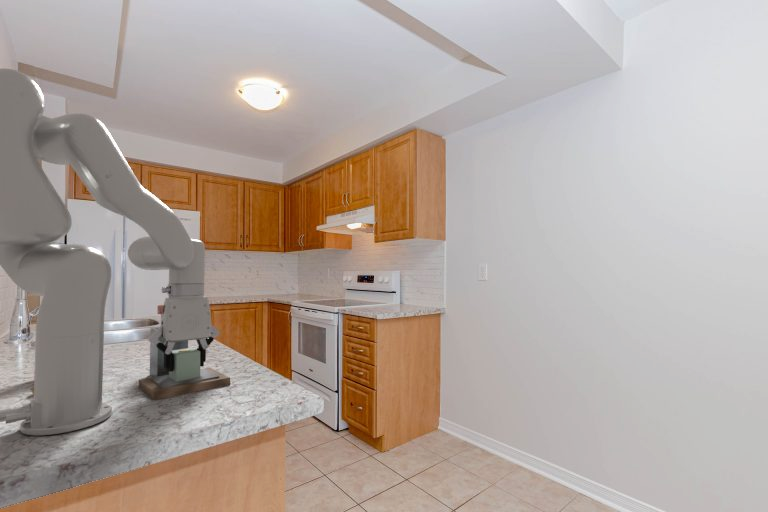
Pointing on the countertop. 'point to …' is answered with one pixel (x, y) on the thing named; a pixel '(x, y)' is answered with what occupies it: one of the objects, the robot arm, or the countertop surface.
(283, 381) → the countertop surface
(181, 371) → the block
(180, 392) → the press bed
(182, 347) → the column
